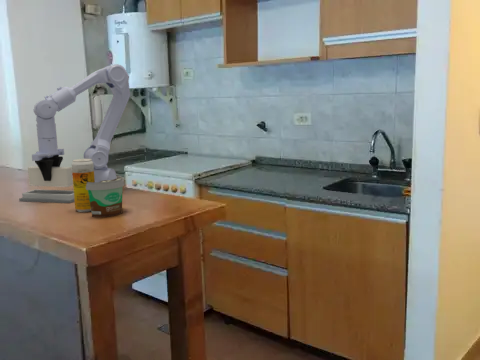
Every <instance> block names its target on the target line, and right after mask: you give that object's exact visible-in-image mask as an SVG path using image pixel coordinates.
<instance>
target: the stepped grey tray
mask: <svg viewBox="0 0 480 360" xmlns="http://www.w3.org/2000/svg"><path fill="white" fill-rule="evenodd" d="M21 196H22V197H20V198H19V201H18V202H31V203H33V202H34V203H55V204H56V203H58V204H60V203H61V204H72V203H75V201H74V190H65V189H64V190H62V189H61V190H60V189H38V188H37V189H36V188H35V189H32V190H29V191H26V192H22V193H21Z"/></svg>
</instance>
